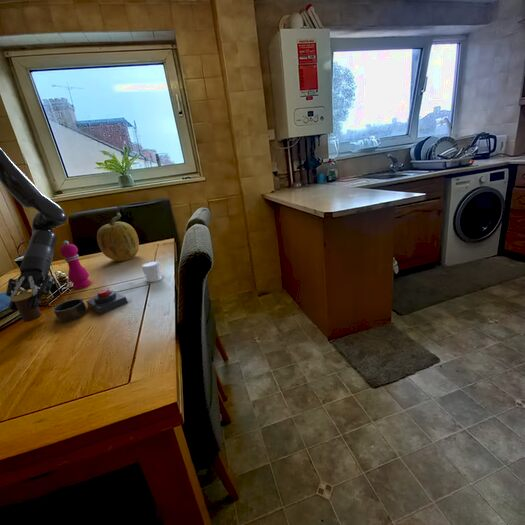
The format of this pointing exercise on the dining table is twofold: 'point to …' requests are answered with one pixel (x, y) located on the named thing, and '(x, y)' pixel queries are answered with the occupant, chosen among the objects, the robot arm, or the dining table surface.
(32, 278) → the robot arm
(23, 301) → the coffee pod
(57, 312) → the pod holder
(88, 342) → the dining table surface
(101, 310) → the panel
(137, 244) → the pumpkin
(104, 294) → the brew button
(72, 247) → the pepper mill
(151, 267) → the white short cylinder
